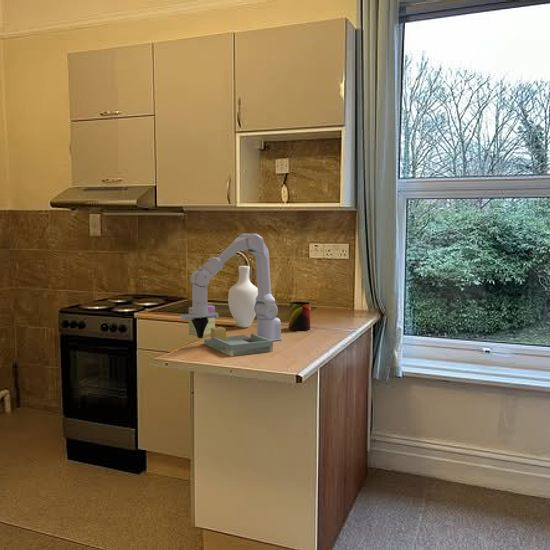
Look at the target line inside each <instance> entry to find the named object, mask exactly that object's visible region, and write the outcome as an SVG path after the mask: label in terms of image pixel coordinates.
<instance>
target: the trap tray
mask: <svg viewBox="0 0 550 550" xmlns="http://www.w3.org/2000/svg"><path fill="white" fill-rule="evenodd" d="M203 340H204V341H203V343H204V345H206V346H208V347H210V348H212V349H215V350H217V351H218V352H221V353H223V354H225V355H227V356H229V357H239V356H246V355H253V354H262V353H273V349H274V347H273V346H274V345H273V344H274V341H272V340H269V339H267V338H264V337H261V336H258V335H257V333H256V334H255V333H250V336H248V335H244V334H239V335H229V336H228V335H226V340H224V341H223V340H221V339H218V338H216V337H213V340H211V337H210V338H209V337H207V338H204V339H203Z"/></svg>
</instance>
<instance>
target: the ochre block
mask: <svg viewBox="0 0 550 550" xmlns="http://www.w3.org/2000/svg"><path fill="white" fill-rule="evenodd" d="M226 336H227V329H226V328H225V327H223V326H217V327H216V326H215V328H211V334H210V338H211V340H213V337H216V338H218V339H221V340H223V341H224V340H226Z"/></svg>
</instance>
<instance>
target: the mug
mask: <svg viewBox="0 0 550 550" xmlns="http://www.w3.org/2000/svg"><path fill="white" fill-rule="evenodd" d="M308 330H310V331H311V302H307V301H291V302H288V331H291V332H296V331H304V332H309V331H308Z"/></svg>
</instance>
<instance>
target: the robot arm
mask: <svg viewBox="0 0 550 550" xmlns="http://www.w3.org/2000/svg"><path fill="white" fill-rule="evenodd" d="M242 251H243V252H244V251H248V252H249V253H251V254H252V255H254V257H255V266H256V267H255V268H256V284H257V285H256V287H257V288H258V296H257V297H256V303H255V306H254V311H255V313H256V335H258V336H261V337H264V338H267V339H269V340H272V341H273V342H274V341H282V339H283V338H282V322H281V319H280V318H279V317H276V316H277V315H278V314H279V313H278V312H279V309H278V305H277V304H276V299H275V297H274V296H273V295H272V283H271V281H272V280H271V268H270V251H269V248H268V247H267V245H266V243H265V240H264V238H263V236H261V235H260V234H258V233H245V232H244V233H241V234H240V235H239V236H237V237H236V238H235V239H234V240H233V241H232V242H231V244H229V245H228V246H227V247H226V248H225V249H224V250H223V251H222V252H221V253H220V254H219V255H218V256H212V257H209V258H207V261H206V263H204V264H203V265H202V266H199V267H198V270H195V271H193V272H192V273H191V275H190V277H189V281H190V283H191V285H192V288H191V289H192V291H191V292H192V295H191V296H192V297H191V298H192V299H191V301H192V303H191V304H192V305H191V307H192V313H191V314H189V313H185V314H180V320H181V321H189V320H192V323H193V324H194V327H195V329H196V333H197V336H196V337H197V338H198V339H203V338H204V335H203V334H204V330H205V328H206V325H207V324H208V321H209V320H208V319H207V318H215V319H219V312H217V311H215V312H208V297H209V296H208V295H209V294H208V285H209V284H210V283H211V279H212V278H214V277H215V276H216V275H217V274H218V273H219V272H221V270H223V268H224V264H225V263H226V262H227V261H228V260H229V259H231V258H232V257H233V256H234V255H235V254H237V253H238V252H242ZM196 317H197V318H196Z"/></svg>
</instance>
